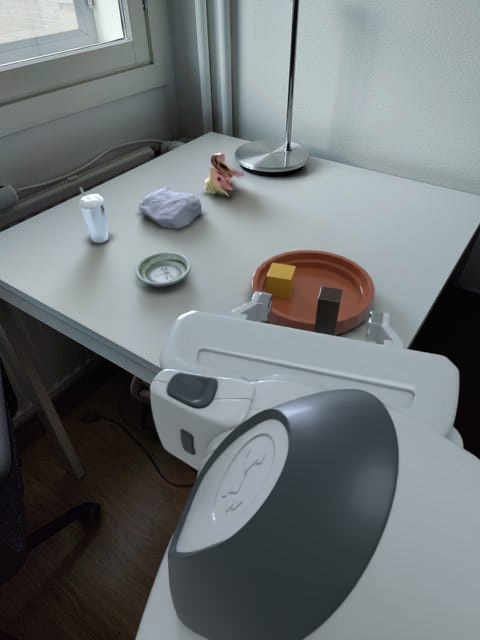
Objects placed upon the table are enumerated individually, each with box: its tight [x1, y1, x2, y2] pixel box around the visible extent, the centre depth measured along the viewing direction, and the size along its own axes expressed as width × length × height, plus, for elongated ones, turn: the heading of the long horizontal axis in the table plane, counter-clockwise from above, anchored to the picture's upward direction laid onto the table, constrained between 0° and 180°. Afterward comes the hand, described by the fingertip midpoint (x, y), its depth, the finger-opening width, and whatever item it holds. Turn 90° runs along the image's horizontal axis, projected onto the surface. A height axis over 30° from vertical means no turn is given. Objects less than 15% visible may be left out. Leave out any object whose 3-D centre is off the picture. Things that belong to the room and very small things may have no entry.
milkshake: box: [78, 186, 109, 244], centre depth 89 cm, size 5×5×10 cm
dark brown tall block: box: [314, 286, 342, 336], centre depth 60 cm, size 4×4×14 cm
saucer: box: [134, 251, 192, 288], centre depth 81 cm, size 10×10×2 cm
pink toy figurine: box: [203, 152, 245, 197], centre depth 106 cm, size 9×10×10 cm
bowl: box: [251, 249, 376, 335], centre depth 76 cm, size 20×20×3 cm
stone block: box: [138, 186, 202, 230], centre depth 98 cm, size 12×5×10 cm
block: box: [266, 263, 296, 299], centre depth 76 cm, size 4×4×4 cm
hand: (319, 308), depth 38 cm, fingers open, 8 cm apart
